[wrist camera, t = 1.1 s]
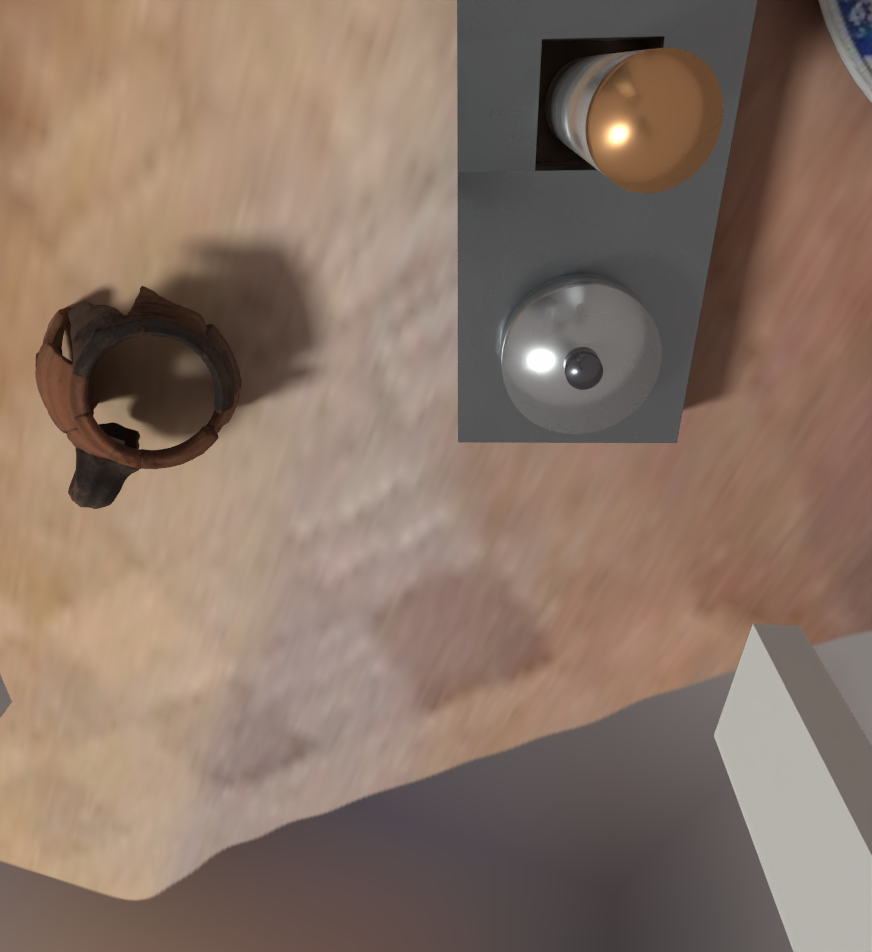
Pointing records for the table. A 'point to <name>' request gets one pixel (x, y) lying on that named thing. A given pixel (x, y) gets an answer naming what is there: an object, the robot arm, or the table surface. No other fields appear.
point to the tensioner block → (578, 234)
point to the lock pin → (638, 115)
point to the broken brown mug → (71, 406)
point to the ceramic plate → (852, 37)
